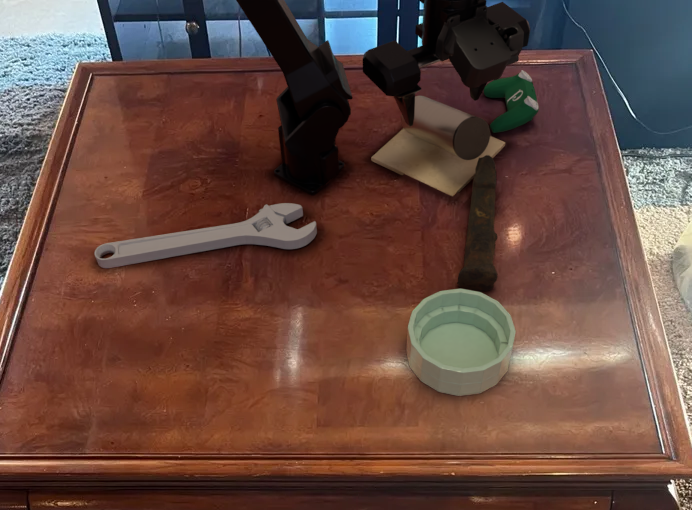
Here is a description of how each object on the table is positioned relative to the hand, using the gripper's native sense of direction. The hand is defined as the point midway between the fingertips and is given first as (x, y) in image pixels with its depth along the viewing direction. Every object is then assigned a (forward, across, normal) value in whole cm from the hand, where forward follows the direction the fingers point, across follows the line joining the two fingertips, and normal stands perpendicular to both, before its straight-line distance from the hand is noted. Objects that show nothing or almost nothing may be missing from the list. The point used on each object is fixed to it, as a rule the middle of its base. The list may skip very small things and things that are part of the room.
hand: (441, 111), depth 96 cm
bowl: (+6, -16, -27) cm, 32 cm away
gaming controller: (+6, +12, +2) cm, 14 cm away
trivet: (+6, 0, 0) cm, 6 cm away
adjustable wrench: (+6, -31, +1) cm, 32 cm away
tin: (+4, 0, +5) cm, 6 cm away
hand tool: (+6, -4, -14) cm, 16 cm away
